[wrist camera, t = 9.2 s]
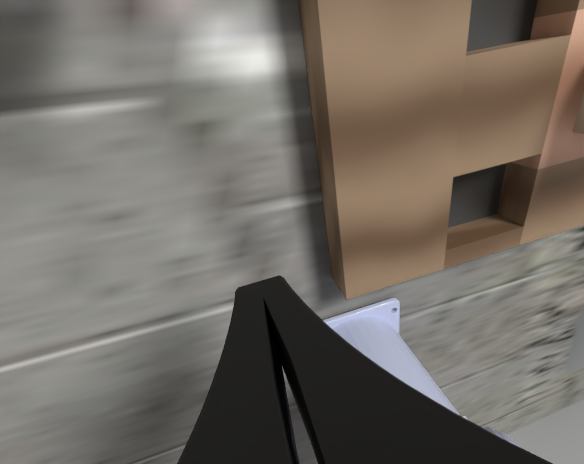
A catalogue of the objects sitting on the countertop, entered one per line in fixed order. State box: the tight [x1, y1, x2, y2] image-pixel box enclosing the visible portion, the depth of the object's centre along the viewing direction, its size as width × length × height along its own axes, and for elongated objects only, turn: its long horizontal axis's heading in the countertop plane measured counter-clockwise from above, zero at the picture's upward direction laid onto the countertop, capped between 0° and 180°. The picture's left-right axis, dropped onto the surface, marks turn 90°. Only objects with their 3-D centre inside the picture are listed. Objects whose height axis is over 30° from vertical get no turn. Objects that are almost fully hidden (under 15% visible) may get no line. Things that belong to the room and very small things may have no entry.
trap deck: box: [298, 0, 584, 300], centre depth 17 cm, size 19×22×2 cm
